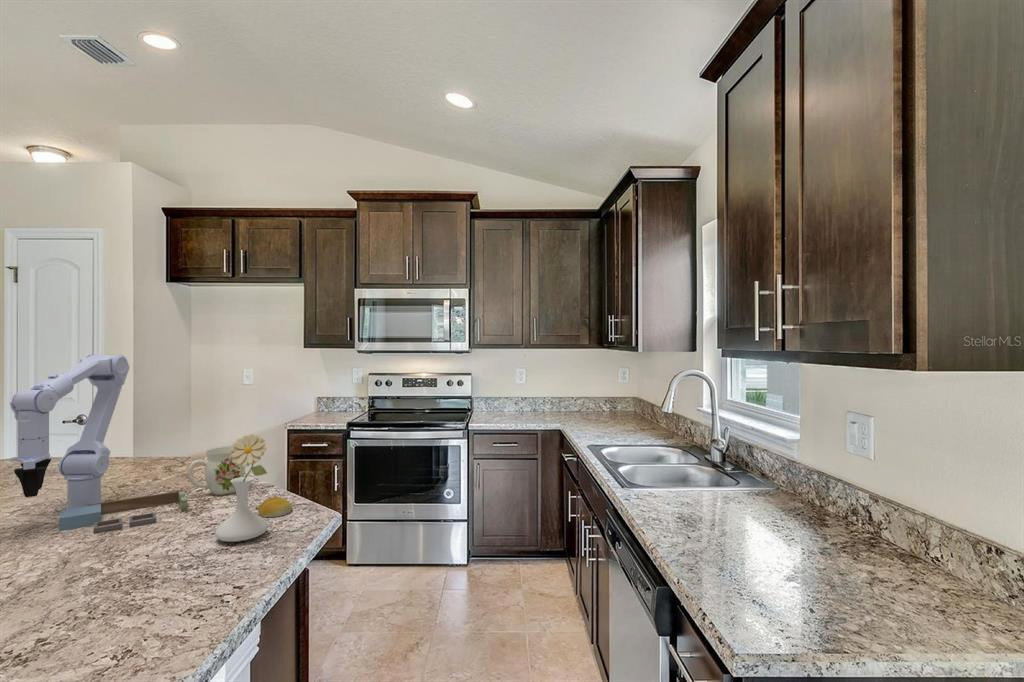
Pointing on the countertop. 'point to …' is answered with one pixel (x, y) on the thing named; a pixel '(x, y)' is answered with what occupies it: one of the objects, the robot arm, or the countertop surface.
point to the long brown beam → (144, 502)
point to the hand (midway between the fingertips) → (33, 492)
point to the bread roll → (274, 507)
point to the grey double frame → (117, 523)
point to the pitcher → (218, 471)
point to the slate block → (79, 517)
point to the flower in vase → (244, 492)
